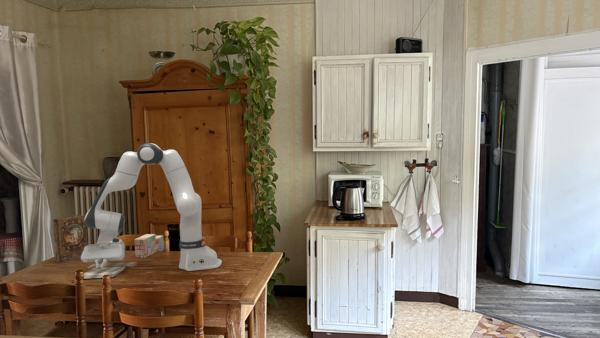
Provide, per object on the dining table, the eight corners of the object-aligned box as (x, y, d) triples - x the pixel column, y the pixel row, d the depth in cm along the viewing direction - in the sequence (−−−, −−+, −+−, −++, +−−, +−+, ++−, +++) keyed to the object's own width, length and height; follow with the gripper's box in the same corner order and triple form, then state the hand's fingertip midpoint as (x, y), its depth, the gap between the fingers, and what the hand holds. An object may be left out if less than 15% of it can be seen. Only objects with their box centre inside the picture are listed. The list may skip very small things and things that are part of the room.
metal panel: (125, 269, 210) (125, 266, 210) (113, 277, 193) (112, 274, 193) (94, 270, 209) (94, 267, 209) (78, 278, 192) (78, 275, 192)
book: (58, 263, 225) (55, 220, 223) (54, 262, 228) (51, 219, 226) (88, 256, 238) (85, 215, 236) (83, 255, 241) (81, 214, 239)
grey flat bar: (138, 264, 217) (138, 261, 217) (134, 268, 211) (133, 265, 211) (92, 266, 216) (92, 263, 215) (87, 270, 209) (86, 267, 209)
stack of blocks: (155, 250, 249) (154, 230, 248) (164, 250, 248) (163, 230, 247) (135, 260, 228) (134, 238, 227) (145, 260, 227) (144, 239, 226)
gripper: (83, 241, 202) (74, 266, 193) (124, 239, 203) (118, 264, 194) (87, 247, 207) (80, 272, 198) (128, 245, 208) (122, 270, 199)
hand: (99, 268), depth 196 cm, fingers closed
